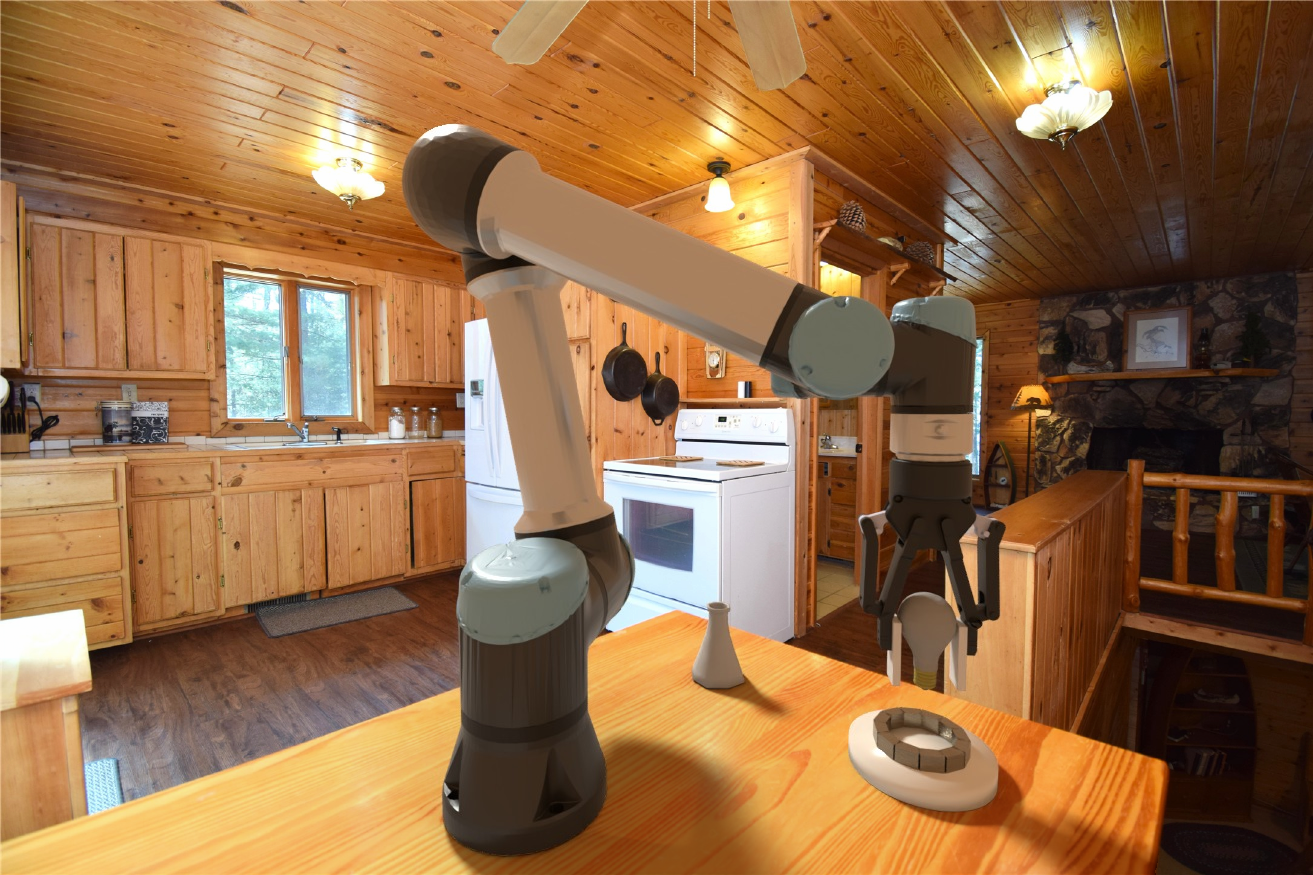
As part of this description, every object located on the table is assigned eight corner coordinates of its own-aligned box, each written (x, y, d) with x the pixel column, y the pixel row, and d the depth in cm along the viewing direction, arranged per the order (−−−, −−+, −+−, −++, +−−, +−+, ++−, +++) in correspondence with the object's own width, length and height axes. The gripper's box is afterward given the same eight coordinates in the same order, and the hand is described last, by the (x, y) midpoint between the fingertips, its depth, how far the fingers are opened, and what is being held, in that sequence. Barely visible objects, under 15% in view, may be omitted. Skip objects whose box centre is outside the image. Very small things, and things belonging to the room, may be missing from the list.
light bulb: (962, 705, 57) (964, 604, 56) (902, 699, 58) (904, 600, 57) (946, 678, 62) (948, 586, 61) (891, 674, 63) (893, 583, 62)
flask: (683, 669, 82) (683, 599, 81) (730, 662, 84) (731, 593, 83) (702, 694, 75) (703, 618, 74) (754, 686, 77) (755, 611, 76)
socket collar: (883, 766, 57) (883, 751, 57) (867, 717, 66) (867, 703, 65) (982, 777, 55) (983, 761, 55) (952, 725, 64) (953, 711, 64)
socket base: (859, 800, 55) (860, 780, 55) (840, 720, 69) (840, 703, 69) (1022, 820, 52) (1023, 799, 52) (969, 732, 66) (969, 715, 66)
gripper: (838, 459, 56) (836, 692, 58) (1050, 461, 53) (1041, 708, 55) (830, 452, 64) (827, 659, 65) (1015, 453, 60) (1008, 671, 62)
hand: (925, 681), depth 60 cm, fingers closed on light bulb, 5 cm apart
